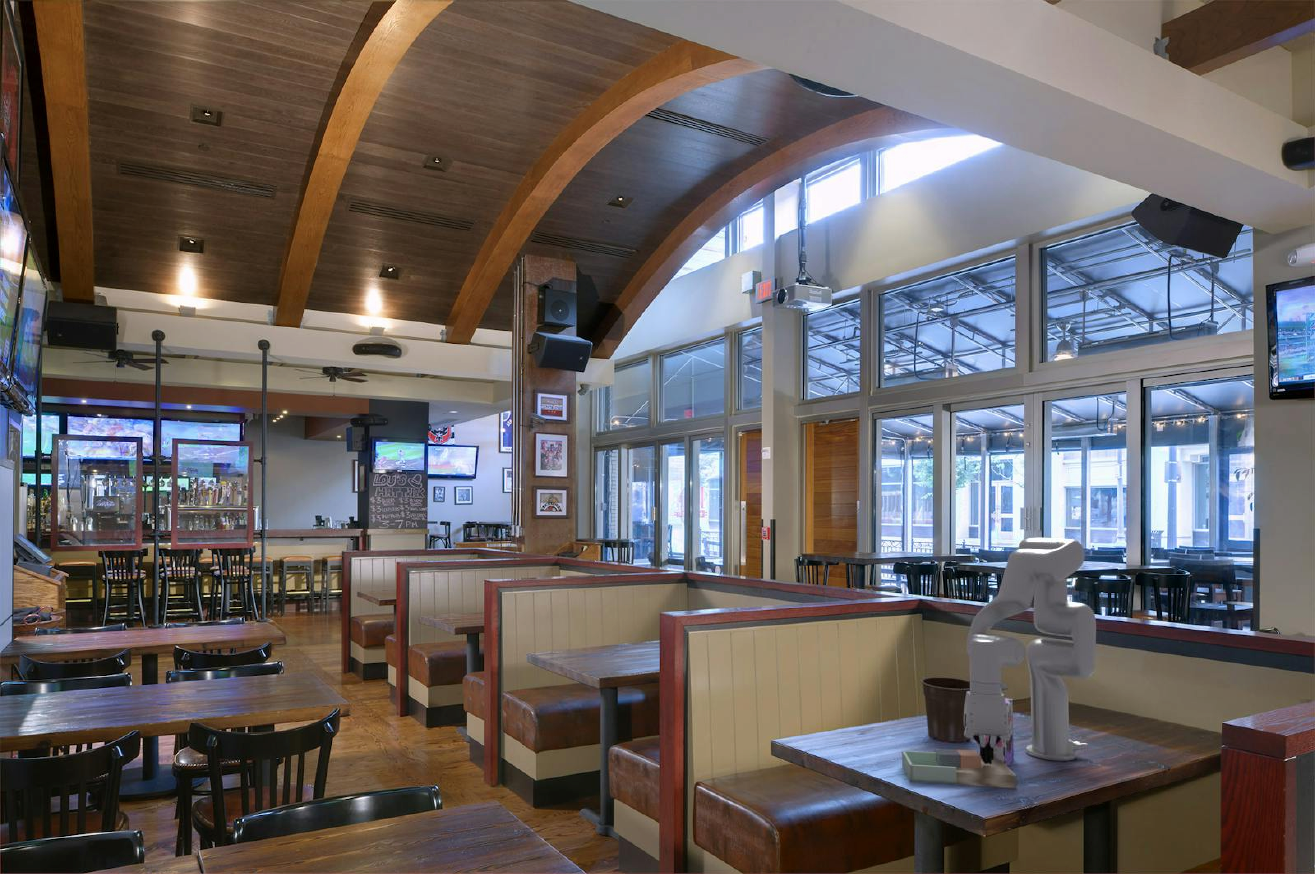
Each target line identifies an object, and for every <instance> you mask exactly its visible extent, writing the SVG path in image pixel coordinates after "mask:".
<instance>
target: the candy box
mask: <svg viewBox="0 0 1315 874" xmlns="http://www.w3.org/2000/svg"><path fill="white" fill-rule="evenodd" d="M1005 701H1006V706H1007V714H1008V725H1009V730H1008V735H1009V739H1008V740H1002V741H999V742H998V743H997V744H996V745H995V747H994V760H1002V761H1003V762H1004V763H1005V764H1006V765H1007V766H1008V767H1009V768H1010V765H1011V764H1012V763H1013V761H1014V760H1015V758H1014V757H1015V756H1014V755H1015V754H1014V753H1015V752H1014V751H1015V748H1014V714H1013V713H1014V711H1013V707H1014V706H1013V704H1014V703H1013V698H1009V697H1008V698H1007V697H1005ZM984 739H985V744H986V745H987V743H988V735H984Z"/></svg>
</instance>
